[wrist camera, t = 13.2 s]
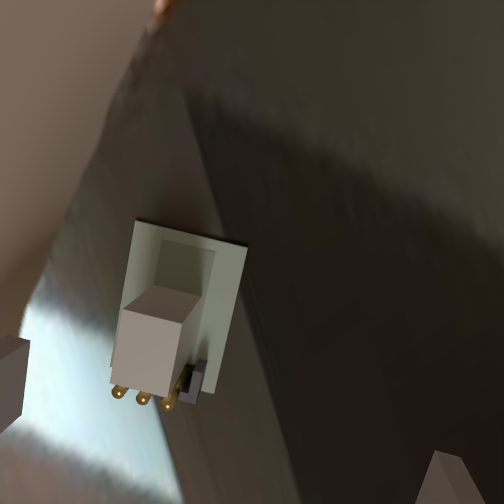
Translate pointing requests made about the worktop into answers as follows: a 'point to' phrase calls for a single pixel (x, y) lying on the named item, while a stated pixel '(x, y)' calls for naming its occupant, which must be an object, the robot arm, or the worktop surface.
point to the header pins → (166, 403)
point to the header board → (189, 290)
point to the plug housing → (155, 340)
